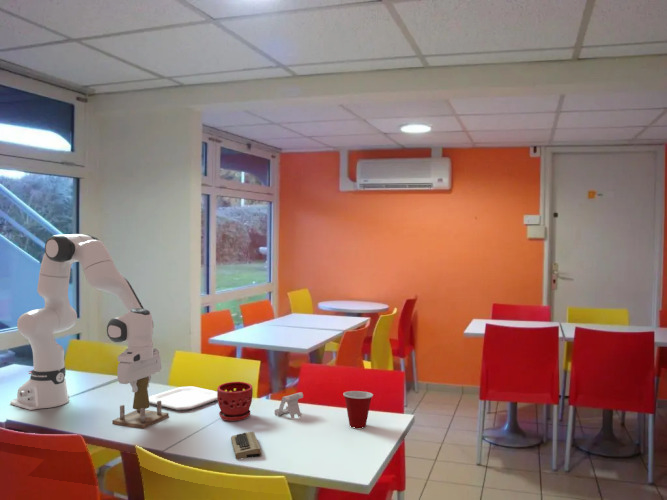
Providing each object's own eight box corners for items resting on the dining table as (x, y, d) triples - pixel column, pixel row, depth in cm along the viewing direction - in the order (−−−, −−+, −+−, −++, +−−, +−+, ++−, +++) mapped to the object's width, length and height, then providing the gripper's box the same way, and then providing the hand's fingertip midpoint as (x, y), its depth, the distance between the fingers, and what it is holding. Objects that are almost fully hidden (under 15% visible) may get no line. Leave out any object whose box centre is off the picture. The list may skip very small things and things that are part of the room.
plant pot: (210, 417, 211) (210, 386, 210) (238, 409, 220) (238, 379, 220) (231, 426, 202) (231, 393, 201) (259, 417, 211) (259, 385, 211)
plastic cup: (376, 422, 206) (376, 390, 205) (368, 432, 195) (368, 398, 195) (348, 419, 209) (348, 387, 209) (338, 429, 199) (339, 395, 199)
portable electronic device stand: (291, 410, 220) (291, 389, 219) (305, 415, 214) (305, 393, 214) (274, 415, 214) (274, 393, 213) (287, 420, 208) (287, 398, 208)
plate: (228, 398, 236) (228, 393, 236) (183, 415, 215) (183, 409, 215) (186, 389, 249) (186, 384, 249) (140, 404, 228) (140, 398, 228)
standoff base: (112, 423, 204) (112, 406, 203) (138, 412, 217) (138, 396, 217) (143, 428, 199) (143, 411, 199) (168, 416, 212) (168, 400, 212)
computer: (230, 442, 188) (230, 432, 187) (255, 439, 190) (255, 430, 190) (235, 460, 172) (235, 450, 172) (261, 458, 174) (261, 447, 174)
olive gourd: (144, 410, 204) (144, 380, 204) (129, 408, 205) (129, 379, 205) (152, 405, 210) (152, 375, 210) (138, 404, 211) (138, 375, 211)
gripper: (151, 346, 218) (152, 382, 218) (114, 357, 199) (114, 396, 199) (165, 348, 216) (165, 383, 216) (128, 359, 196) (128, 398, 197)
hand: (140, 389), depth 207 cm, fingers closed on olive gourd, 4 cm apart
